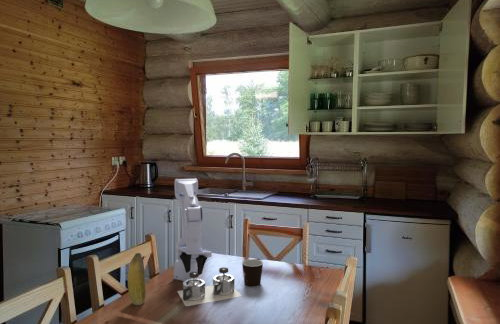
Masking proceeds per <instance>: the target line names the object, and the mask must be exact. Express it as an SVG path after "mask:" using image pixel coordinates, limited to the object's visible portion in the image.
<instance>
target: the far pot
mask: <svg viewBox="0 0 500 324" xmlns="http://www.w3.org/2000/svg"><path fill="white" fill-rule="evenodd" d="M222 276H223V273H220V274H219V273H218V274H216V275H214V276H213V277H212V285H213V293H214V295H220V296H226V295H230V294H232V293H234V288H235V277H234V276H233V275H232V274H227V273H225V276H226V277H229V278H230V280H228V281H219V280H218V278H219V277H222Z"/></svg>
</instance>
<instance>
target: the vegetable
mask: <svg viewBox="0 0 500 324" xmlns="http://www.w3.org/2000/svg"><path fill="white" fill-rule="evenodd" d="M145 276H146V275H145V263H144V260H143V257H142V253H140V252H136V253H135V254H134V255H133V257H132V259H131V261H130V262H129V265H128V271H127V290H128V295H129V299H130V301H131V303H132V304H133V305H134V306H141V305H143V304H144V303H145V301H146V280H145V279H146V278H145Z"/></svg>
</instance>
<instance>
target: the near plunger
mask: <svg viewBox="0 0 500 324" xmlns="http://www.w3.org/2000/svg"><path fill="white" fill-rule="evenodd" d="M199 276H200V275H198V272H191V273H189V277H191V278H193V281H191V282H189V283H188V285H190V286H197V285H200V282H199V281H195V278H196V277H197V278H199Z"/></svg>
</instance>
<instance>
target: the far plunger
mask: <svg viewBox="0 0 500 324" xmlns="http://www.w3.org/2000/svg"><path fill="white" fill-rule="evenodd" d="M218 272H219V273H220V274H223V276H222V277H219V278H218V280H219V281H228V280H230V278H229V277H226V276H225V274H227V273H229V268H228V267H220V268H218Z"/></svg>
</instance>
